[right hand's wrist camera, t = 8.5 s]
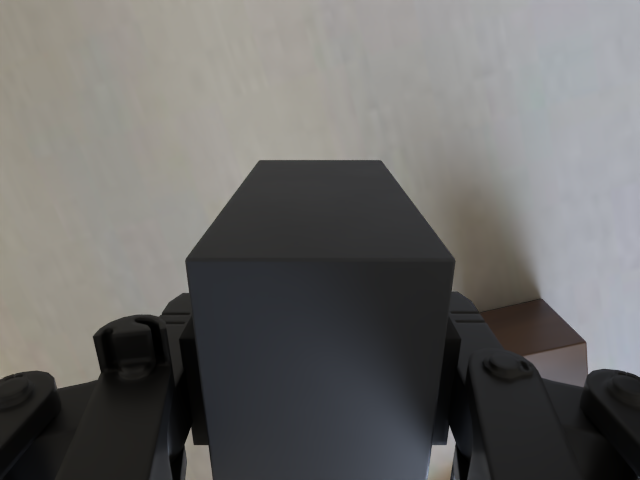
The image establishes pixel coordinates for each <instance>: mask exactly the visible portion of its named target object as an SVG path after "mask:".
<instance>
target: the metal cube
mask: <svg viewBox="0 0 640 480" xmlns="http://www.w3.org/2000/svg"><path fill="white" fill-rule="evenodd" d="M479 314H481V316H482V317H483V319H484V320H485V323H487V325H488V326H489V328H490V329H491V330H492V332H493V333H494V335H495V336H496V338H497V339H498V341H499V342H500V344H501V345H502V347H503V348H504V349H505V350H508V351H511V352H514V353H516V354H518V355H521V356H523V357H524V358H526V359H527V360H528V361H530V362H531V363H533V365H534V366H535V367H536V369H537V370H538V371H539V373H540V376H541V378H544V379H548V380H552V381H556V382H561V383H566V384H571V385H575V386H580V387H584V384H585V380H586V377H587V375H588V366H587V346H586V341H585V340H584V339H583V338H582V337H581V336H580V335H579V334H578V333H577V332H576V331H575V330H574V329H573V328H571V327H570V326H569V325H568V324H567V323H566V322H565V321H564V320H563V319H562V318H561V317H560V316H559V315H558V314H557V313H556V312H555V311H554V310H553V309H552V308H551V307H550V306H549V305H548V304H547V303H546V302H545V301H544V300H543V299H539V300H534V301H530V302H525V303H521V304H516V305H512V306H508V307H503V308H499V309H494V310H490V311H485V312H481V313H479Z"/></svg>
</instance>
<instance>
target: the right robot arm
mask: <svg viewBox="0 0 640 480" xmlns="http://www.w3.org/2000/svg"><path fill="white" fill-rule="evenodd" d="M93 339H94V344H95V348H96V352H97V357H98V361H99V366H100V370H101V374H100V376H99V379H98V380H95V381H92V382H88V383H83V384H79V385H74V386H69V387H64V388H59V389H57V386H56V383H55V379H54V377H53V376H51V375H50V374H49V373H47V372H42V371H29V372H21V373H16V374H13V375H10V376H7V377H4V378H3V379H1V380H0V480H185V475H186V466H187V459H186V452H185V446H184V444H185V442H186V439H187V436H188V434H189V431H190V428H192V435H193V443H194V445H209V444H208V436H207V428H206V421H205V413H204V405H203V397H202V389H201V381H200V373H199V365H198V357H197V349H196V342H195V334H194V326H193V318H192V310H191V302H190V294H189V293H182V294H181V295H179V296H178V297H176V298H175V299H173V300H172V301H170V302H169V303H168V305H167V306H166V308H165V309H164V311H163V312H162V315H160V317H157V316H153V315H133V316H128V317H123V318H120V319H118V320H115V321H112V322H110V323H108V324H107V325H105V326H103V327H102V328H100V329H99V330H98V331H97V332H96V333H95V335H94V336H93ZM449 425H450V428H451V431H452V433H453V436H454V439H455V441H456V446H455V452H454V459H453V465H452V472H451V478H450V480H640V377H638V376H636V375H634V374H631V373H628V372H627V373H626V372H624V371H619V370H610V369H600V370H595V371H592V372H591V373H590V374H589V375H587V377H586V380H585V384H584V387H580V386H575V385H571V384H566V383H561V382H556V381H552V380H548V379H544V378H541V376H540V373H539V371H538V370H537V369H536V367H535V366H534V365H533V363H531V362H530V361H528V360H527V359H526V358H524V357H523V356H521V355H518V354H516V353H514V352H511V351H508V350H505V349H504V348H503V347H502V345H501V344H500V342H499V341H498V339H497V338H496V336H495V335H494V333H493V332H492V330H491V329H490V328H489V326H488V325H487V323H485V320H484V319H483V317H482V316H481V314H479V311H478V310H477V309H476V307H475V306H474V304H473V303H472V301H471V300H469V299H468V298H466V297H465V296H463V295H462V294H460V293H459V292H451V299H450V307H449V315H448V322H447V330H446V338H445V346H444V354H443V361H442V369H441V377H440V385H439V393H438V401H437V408H436V416H435V424H434V432H433V440H432V445H447V438H448V431H449Z"/></svg>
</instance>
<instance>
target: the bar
mask: <svg viewBox="0 0 640 480" xmlns="http://www.w3.org/2000/svg"><path fill="white" fill-rule="evenodd" d="M185 263H186V270H187V278H188V286H189V294H190V302H191V310H192V318H193V326H194V334H195V342H196V349H197V357H198V365H199V373H200V381H201V389H202V397H203V405H204V413H205V421H206V428H207V436H208V444H209V452H210V460H211V468H212V476H213V480H427V479H428V471H429V463H430V455H431V448H432V440H433V432H434V424H435V416H436V408H437V401H438V393H439V385H440V377H441V369H442V361H443V354H444V346H445V338H446V330H447V322H448V315H449V307H450V299H451V291H452V283H453V275H454V268H455V259H454V257H453V256H452V255H451V253H450V252H449V251H448V249H447V248H446V247H445V245H444V244H443V242H442V241H441V240H440V238H439V237H438V236H437V234H436V233H435V232H434V230H433V229H432V228H431V226H430V225H429V224H428V222H427V221H426V220H425V218H424V217H423V216H422V214H421V213H420V212H419V210H418V209H417V208H416V206H415V205H414V204H413V202H412V201H411V200H410V198H409V197H408V196H407V194H406V193H405V192H404V190H403V189H402V188H401V186H400V185H399V184H398V182H397V181H396V180H395V178H394V177H393V176H392V174H391V173H390V172H389V170H388V169H387V168H386V166H385V165H384V164H383V162H382V161H381V160H260V161H258V163H257V164H256V165H255V167H254V168H253V169H252V171H251V172H250V173H249V175H248V176H247V178H246V179H245V180H244V182H243V183H242V184H241V186H240V187H239V188H238V190H237V191H236V192H235V194H234V195H233V196H232V198H231V199H230V200H229V202H228V203H227V204H226V206H225V207H224V208H223V210H222V211H221V212H220V214H219V215H218V216H217V218H216V219H215V220H214V222H213V223H212V224H211V226H210V227H209V228H208V230H207V231H206V232H205V234H204V235H203V237H202V238H201V239H200V241H199V242H198V243H197V245H196V246H195V247H194V249H193V250H192V251H191V253H190V254H189V255H188V257H187V258H186V260H185Z"/></svg>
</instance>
